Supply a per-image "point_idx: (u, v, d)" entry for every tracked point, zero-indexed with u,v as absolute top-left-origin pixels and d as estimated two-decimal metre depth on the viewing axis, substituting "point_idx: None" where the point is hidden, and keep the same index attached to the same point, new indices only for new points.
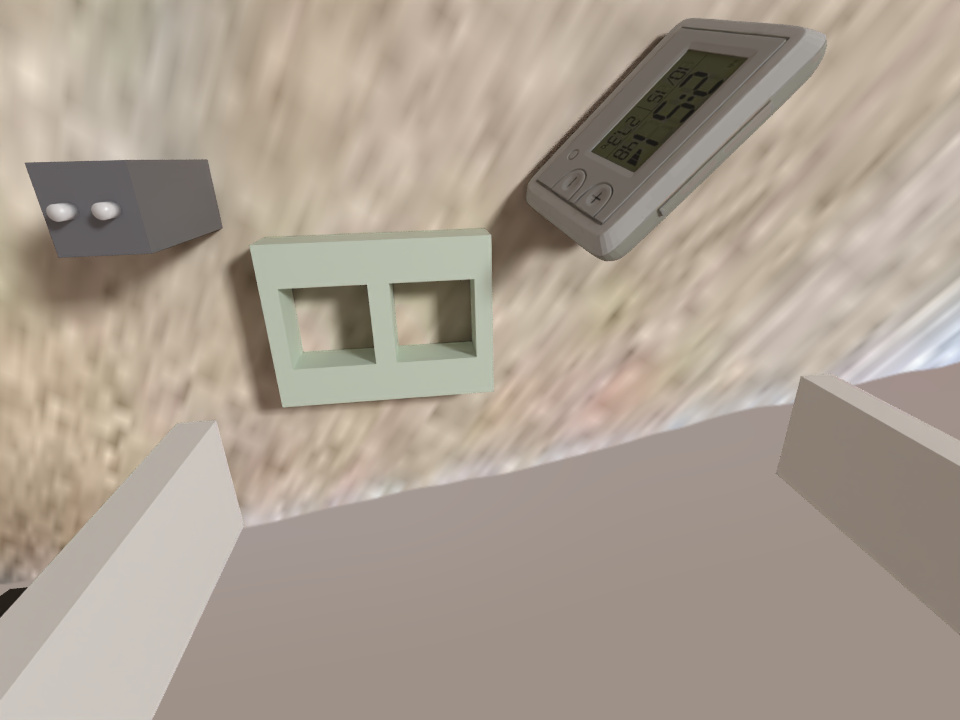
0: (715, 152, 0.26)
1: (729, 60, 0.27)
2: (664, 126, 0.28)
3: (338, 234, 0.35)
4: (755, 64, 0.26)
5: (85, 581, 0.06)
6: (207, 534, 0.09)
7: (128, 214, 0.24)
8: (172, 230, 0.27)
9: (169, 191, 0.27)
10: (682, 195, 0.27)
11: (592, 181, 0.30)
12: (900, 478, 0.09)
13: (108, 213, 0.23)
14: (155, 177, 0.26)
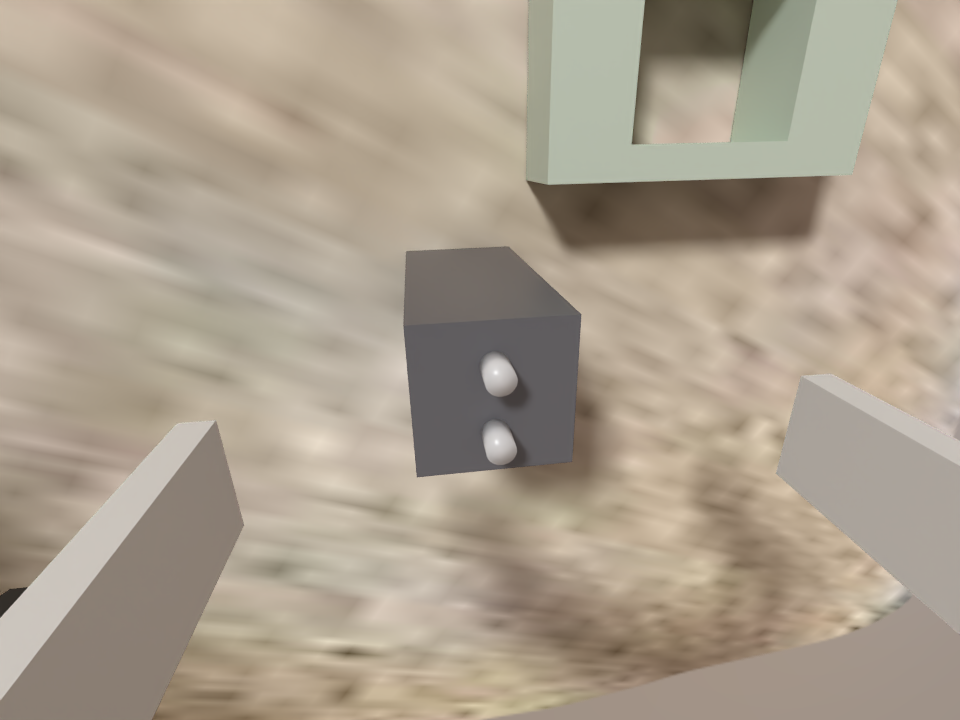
0: None
1: None
2: None
3: (528, 33, 0.18)
4: None
5: (84, 581, 0.06)
6: (207, 534, 0.09)
7: (504, 340, 0.12)
8: (526, 288, 0.15)
9: (458, 285, 0.15)
10: None
11: None
12: (900, 478, 0.09)
13: (505, 369, 0.12)
14: (434, 297, 0.14)
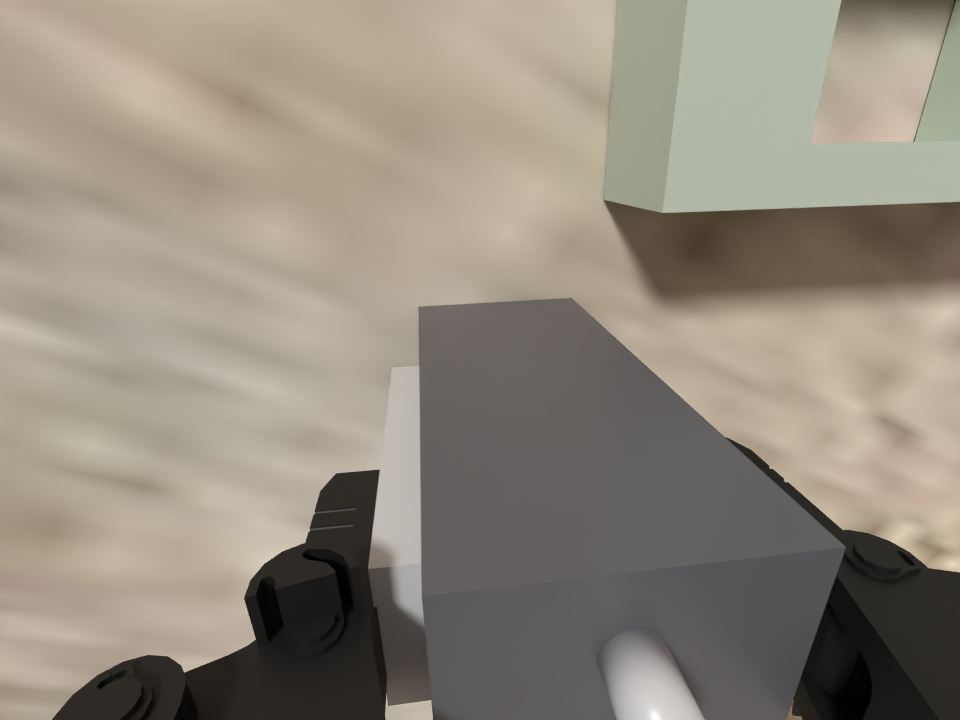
0: None
1: None
2: None
3: None
4: None
5: (419, 458, 0.08)
6: None
7: (661, 608, 0.05)
8: (656, 422, 0.08)
9: (519, 408, 0.08)
10: None
11: None
12: None
13: None
14: (481, 451, 0.07)
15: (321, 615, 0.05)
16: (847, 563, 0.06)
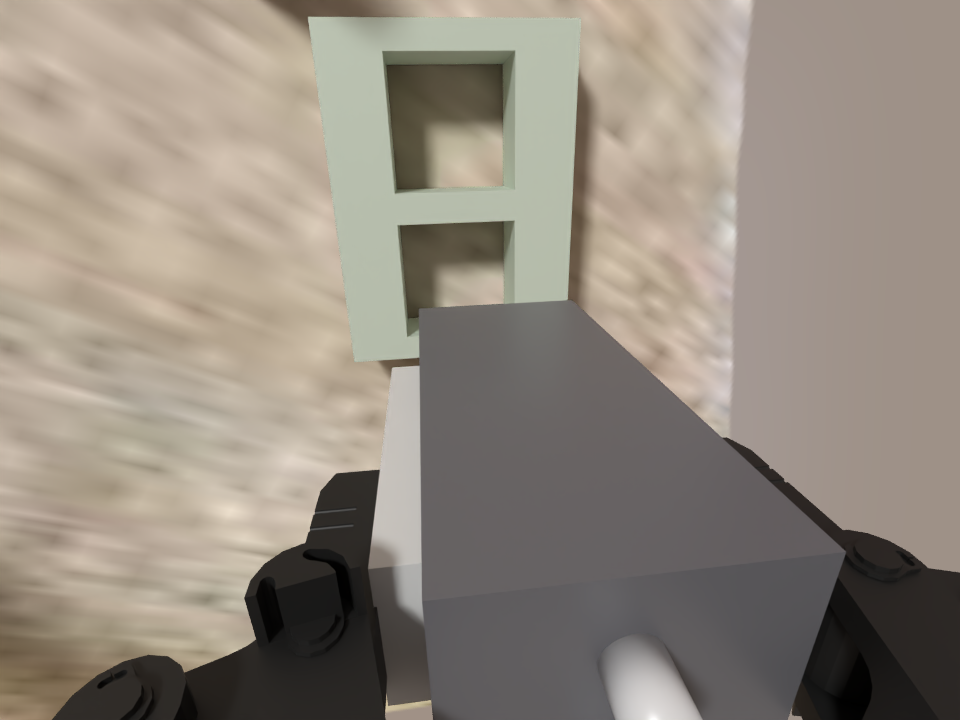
0: None
1: None
2: None
3: None
4: None
5: (419, 457, 0.08)
6: None
7: (661, 613, 0.05)
8: (656, 426, 0.08)
9: (519, 411, 0.08)
10: None
11: None
12: None
13: None
14: (482, 454, 0.07)
15: (321, 615, 0.05)
16: (847, 563, 0.06)
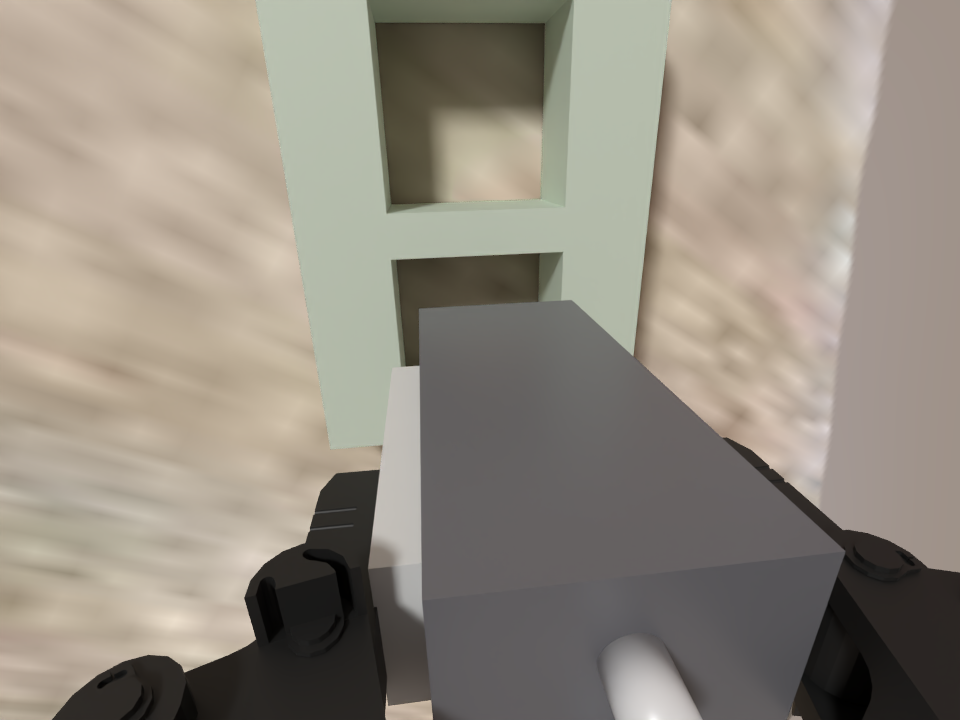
0: None
1: None
2: None
3: None
4: None
5: (419, 458, 0.08)
6: None
7: (661, 612, 0.05)
8: (656, 426, 0.08)
9: (519, 411, 0.08)
10: None
11: None
12: None
13: None
14: (481, 454, 0.07)
15: (321, 615, 0.05)
16: (847, 563, 0.06)
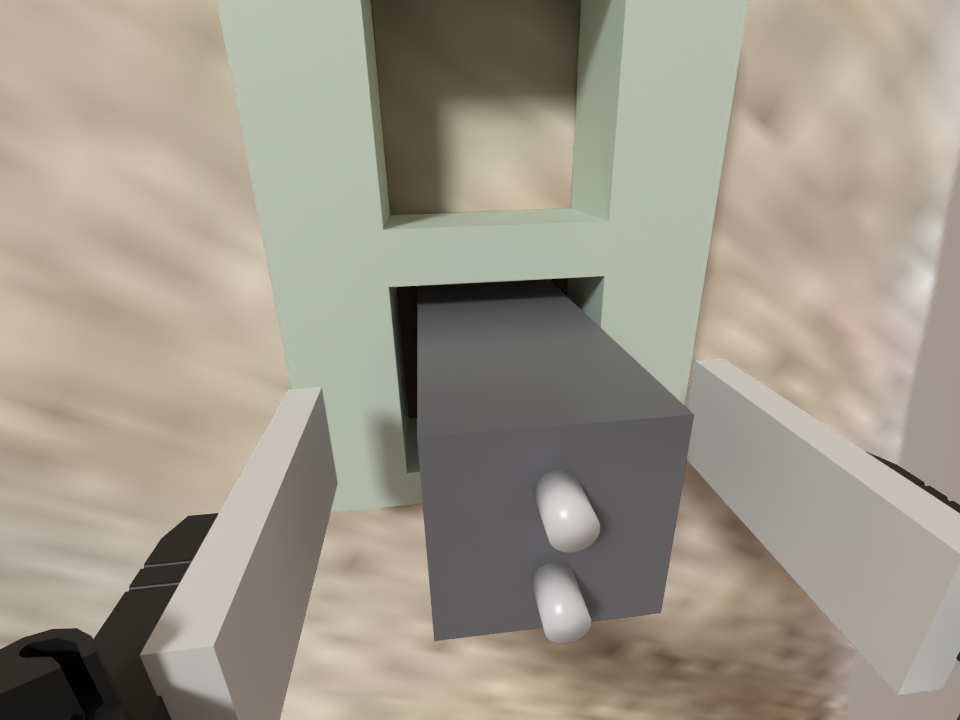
0: None
1: None
2: None
3: None
4: None
5: (268, 502, 0.07)
6: (321, 484, 0.11)
7: (574, 455, 0.08)
8: (590, 354, 0.10)
9: (491, 347, 0.11)
10: None
11: None
12: (760, 449, 0.10)
13: (582, 514, 0.07)
14: (461, 370, 0.10)
15: None
16: None
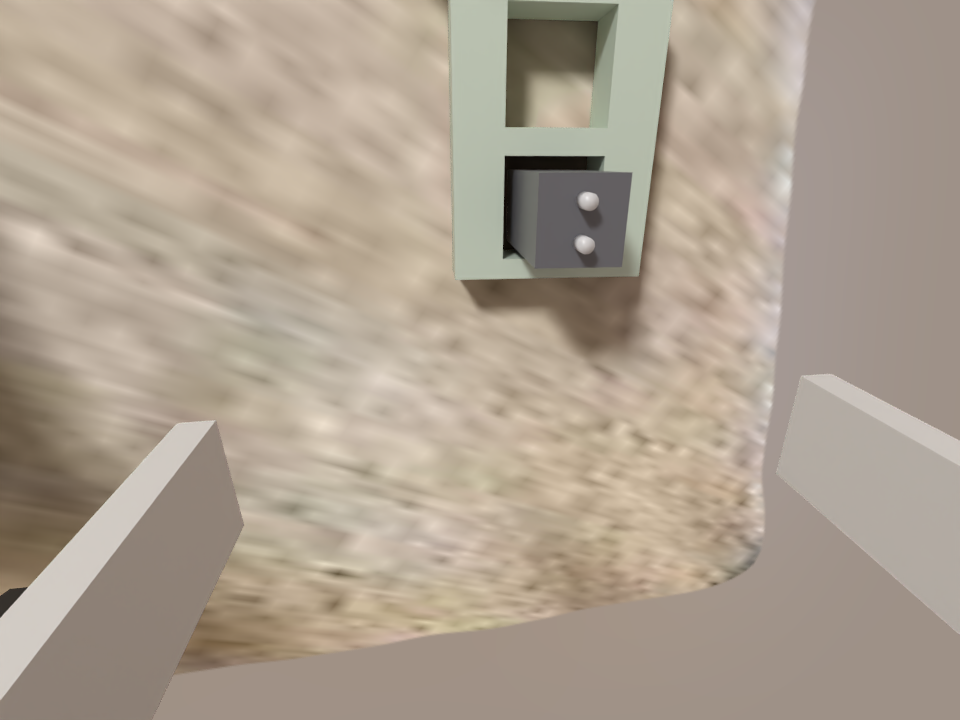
0: None
1: None
2: None
3: (451, 189, 0.32)
4: None
5: (85, 581, 0.06)
6: (207, 534, 0.09)
7: (590, 185, 0.23)
8: (597, 171, 0.26)
9: None
10: None
11: None
12: (900, 478, 0.09)
13: (593, 194, 0.22)
14: (546, 171, 0.25)
15: None
16: None
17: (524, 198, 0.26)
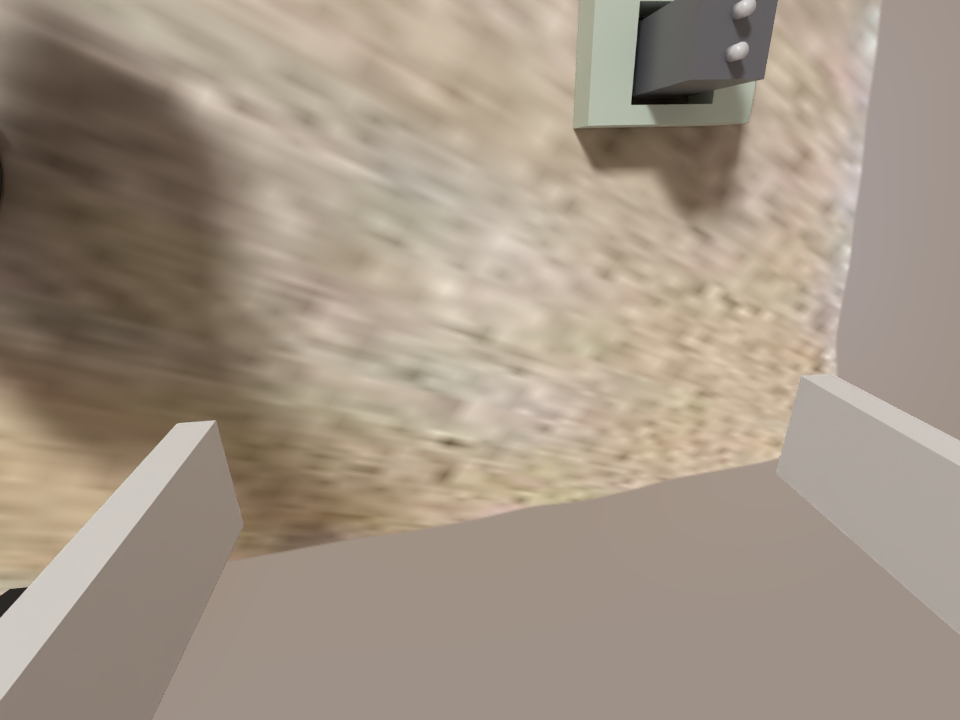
0: None
1: None
2: None
3: (577, 48, 0.35)
4: None
5: (85, 581, 0.06)
6: (207, 534, 0.09)
7: None
8: None
9: None
10: None
11: None
12: (900, 478, 0.09)
13: None
14: None
15: None
16: None
17: (667, 29, 0.30)
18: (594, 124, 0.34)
